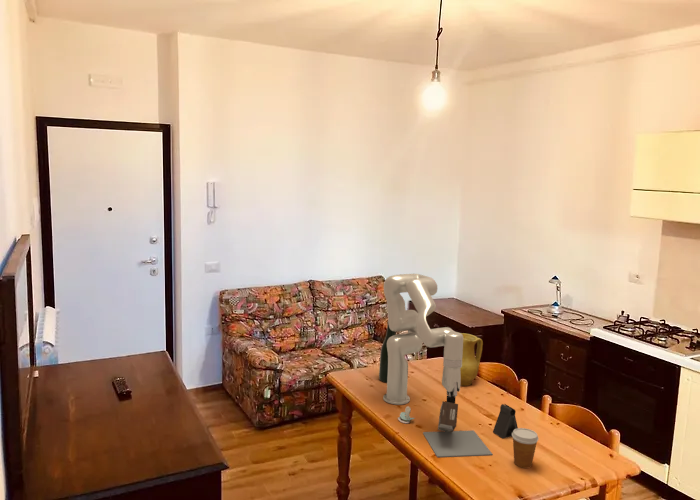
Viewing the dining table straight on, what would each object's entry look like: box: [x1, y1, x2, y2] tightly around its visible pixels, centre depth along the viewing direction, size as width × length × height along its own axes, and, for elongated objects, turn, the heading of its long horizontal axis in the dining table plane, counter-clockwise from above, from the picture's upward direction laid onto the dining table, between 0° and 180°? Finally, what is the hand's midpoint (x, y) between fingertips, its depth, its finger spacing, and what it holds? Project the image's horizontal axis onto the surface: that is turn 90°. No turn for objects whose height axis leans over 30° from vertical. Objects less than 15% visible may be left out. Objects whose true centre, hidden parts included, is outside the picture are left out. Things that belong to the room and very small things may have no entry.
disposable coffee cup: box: [511, 427, 539, 469], centre depth 206 cm, size 10×10×12 cm
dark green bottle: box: [378, 320, 397, 384], centre depth 287 cm, size 10×10×33 cm
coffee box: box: [437, 401, 459, 432], centre depth 225 cm, size 9×6×16 cm
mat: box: [422, 429, 493, 458], centre depth 221 cm, size 20×22×1 cm
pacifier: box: [397, 406, 415, 424], centre depth 240 cm, size 7×6×6 cm
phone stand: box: [492, 403, 519, 439], centre depth 231 cm, size 9×6×12 cm, turn 114°
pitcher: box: [460, 332, 484, 387], centre depth 288 cm, size 17×19×25 cm
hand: (450, 405), depth 229 cm, fingers closed
